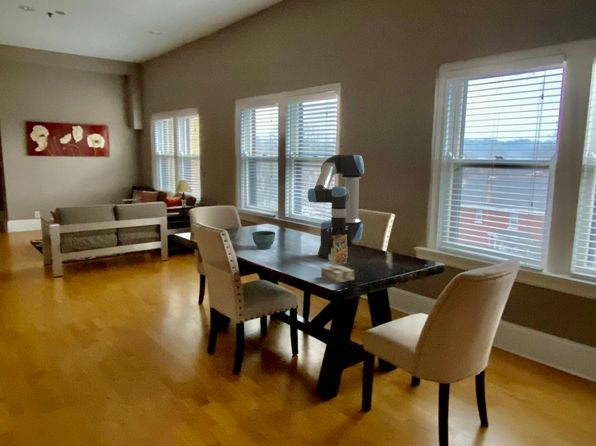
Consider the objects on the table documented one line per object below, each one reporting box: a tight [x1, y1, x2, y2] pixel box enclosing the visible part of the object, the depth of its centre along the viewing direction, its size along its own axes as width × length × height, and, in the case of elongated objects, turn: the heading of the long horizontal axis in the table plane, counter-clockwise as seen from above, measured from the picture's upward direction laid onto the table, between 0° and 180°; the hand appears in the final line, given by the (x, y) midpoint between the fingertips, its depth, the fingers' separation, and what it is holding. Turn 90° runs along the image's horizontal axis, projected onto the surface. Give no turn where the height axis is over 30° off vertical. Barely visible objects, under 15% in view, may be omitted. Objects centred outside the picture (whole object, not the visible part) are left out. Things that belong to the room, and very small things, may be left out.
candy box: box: [328, 234, 348, 266], centre depth 228 cm, size 9×4×15 cm, turn 125°
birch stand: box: [320, 264, 356, 284], centre depth 230 cm, size 12×13×5 cm
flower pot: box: [251, 230, 276, 250], centre depth 304 cm, size 16×16×11 cm
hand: (337, 258), depth 228 cm, fingers closed on candy box, 9 cm apart
